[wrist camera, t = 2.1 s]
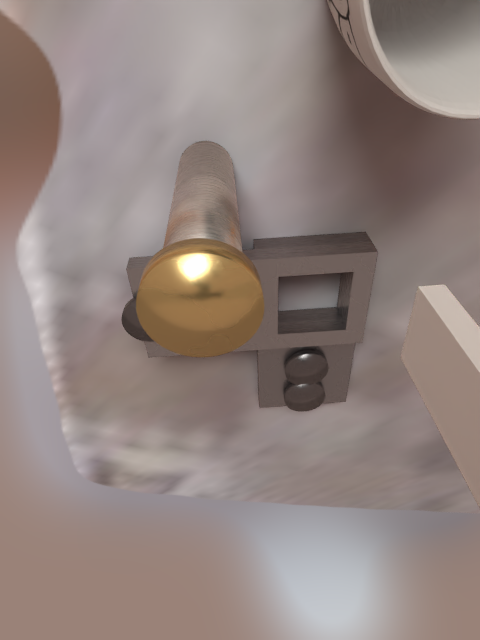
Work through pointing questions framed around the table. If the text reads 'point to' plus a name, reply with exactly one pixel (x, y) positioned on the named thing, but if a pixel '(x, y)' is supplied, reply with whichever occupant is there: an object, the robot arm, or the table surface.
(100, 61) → the table surface
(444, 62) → the mug
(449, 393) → the robot arm
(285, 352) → the grey latch plate
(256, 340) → the chain end
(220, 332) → the pin
